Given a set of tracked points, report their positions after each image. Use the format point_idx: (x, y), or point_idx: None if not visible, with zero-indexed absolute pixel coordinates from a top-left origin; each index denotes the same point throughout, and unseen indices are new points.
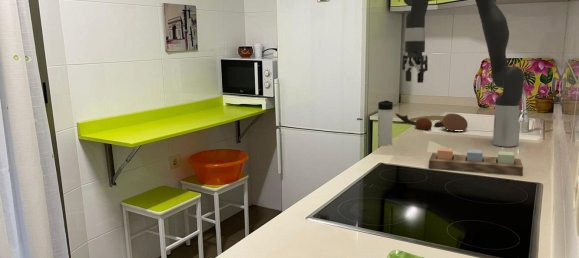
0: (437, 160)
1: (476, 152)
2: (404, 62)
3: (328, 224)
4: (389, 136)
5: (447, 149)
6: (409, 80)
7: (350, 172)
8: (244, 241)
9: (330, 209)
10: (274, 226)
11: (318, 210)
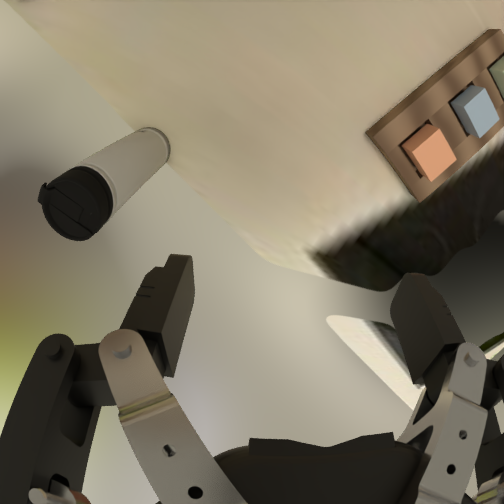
0: (431, 187)
1: (489, 121)
2: (81, 470)
3: None
4: (157, 155)
5: (438, 150)
6: (190, 273)
7: (336, 325)
8: None
9: None
10: (412, 402)
11: None
